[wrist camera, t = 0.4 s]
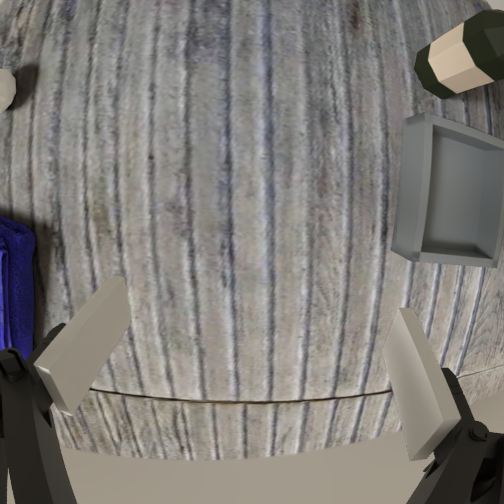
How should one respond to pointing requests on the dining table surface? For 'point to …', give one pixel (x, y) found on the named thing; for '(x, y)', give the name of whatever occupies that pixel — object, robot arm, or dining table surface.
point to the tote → (449, 194)
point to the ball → (6, 89)
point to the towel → (16, 286)
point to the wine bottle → (464, 56)
